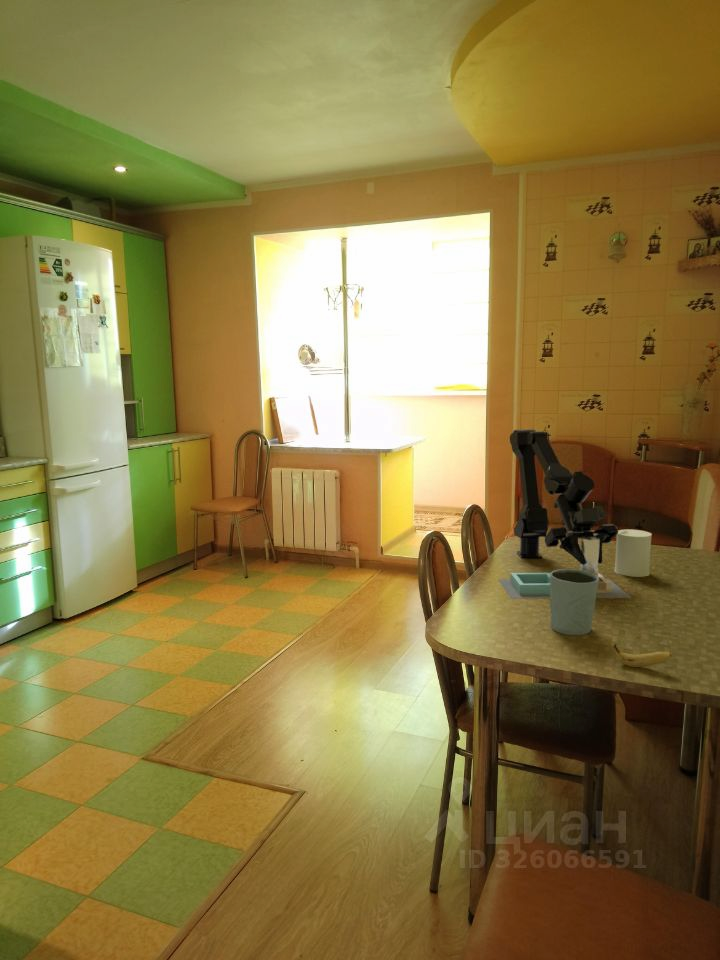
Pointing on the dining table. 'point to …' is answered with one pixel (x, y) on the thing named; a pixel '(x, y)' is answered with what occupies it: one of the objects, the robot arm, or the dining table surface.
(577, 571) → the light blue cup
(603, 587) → the socket block
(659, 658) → the banana
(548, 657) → the dining table surface
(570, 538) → the robot arm
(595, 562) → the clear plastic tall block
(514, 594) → the mat
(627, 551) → the can
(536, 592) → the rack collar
